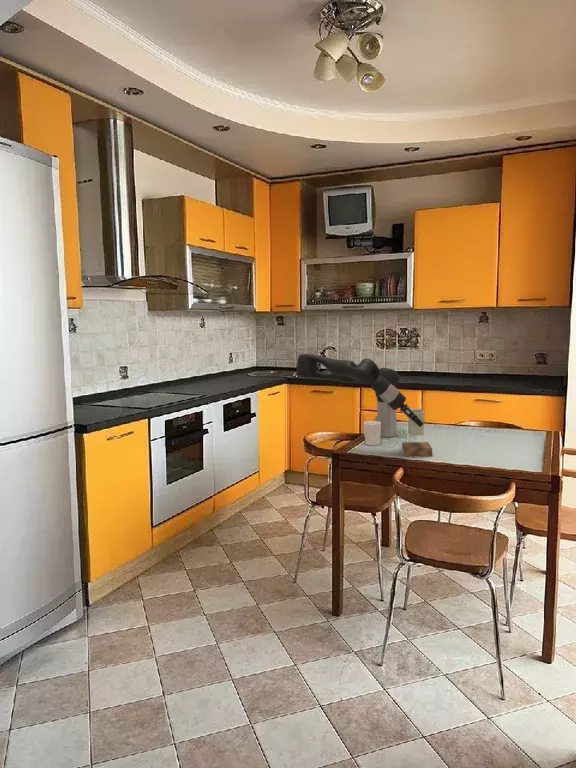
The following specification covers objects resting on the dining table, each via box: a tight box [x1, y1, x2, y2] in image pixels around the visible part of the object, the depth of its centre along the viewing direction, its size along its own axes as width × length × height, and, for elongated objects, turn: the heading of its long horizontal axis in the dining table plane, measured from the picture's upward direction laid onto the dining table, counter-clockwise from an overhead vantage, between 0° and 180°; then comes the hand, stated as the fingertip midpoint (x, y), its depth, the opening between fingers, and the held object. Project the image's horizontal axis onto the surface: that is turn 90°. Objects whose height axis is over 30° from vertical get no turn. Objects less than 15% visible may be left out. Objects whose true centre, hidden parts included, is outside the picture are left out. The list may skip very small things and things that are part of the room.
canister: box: [407, 407, 425, 437], centre depth 243 cm, size 5×5×11 cm
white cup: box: [363, 420, 381, 446], centre depth 264 cm, size 8×8×10 cm
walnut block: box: [401, 441, 433, 458], centre depth 245 cm, size 11×11×4 cm
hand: (420, 423), depth 244 cm, fingers closed on canister, 5 cm apart
